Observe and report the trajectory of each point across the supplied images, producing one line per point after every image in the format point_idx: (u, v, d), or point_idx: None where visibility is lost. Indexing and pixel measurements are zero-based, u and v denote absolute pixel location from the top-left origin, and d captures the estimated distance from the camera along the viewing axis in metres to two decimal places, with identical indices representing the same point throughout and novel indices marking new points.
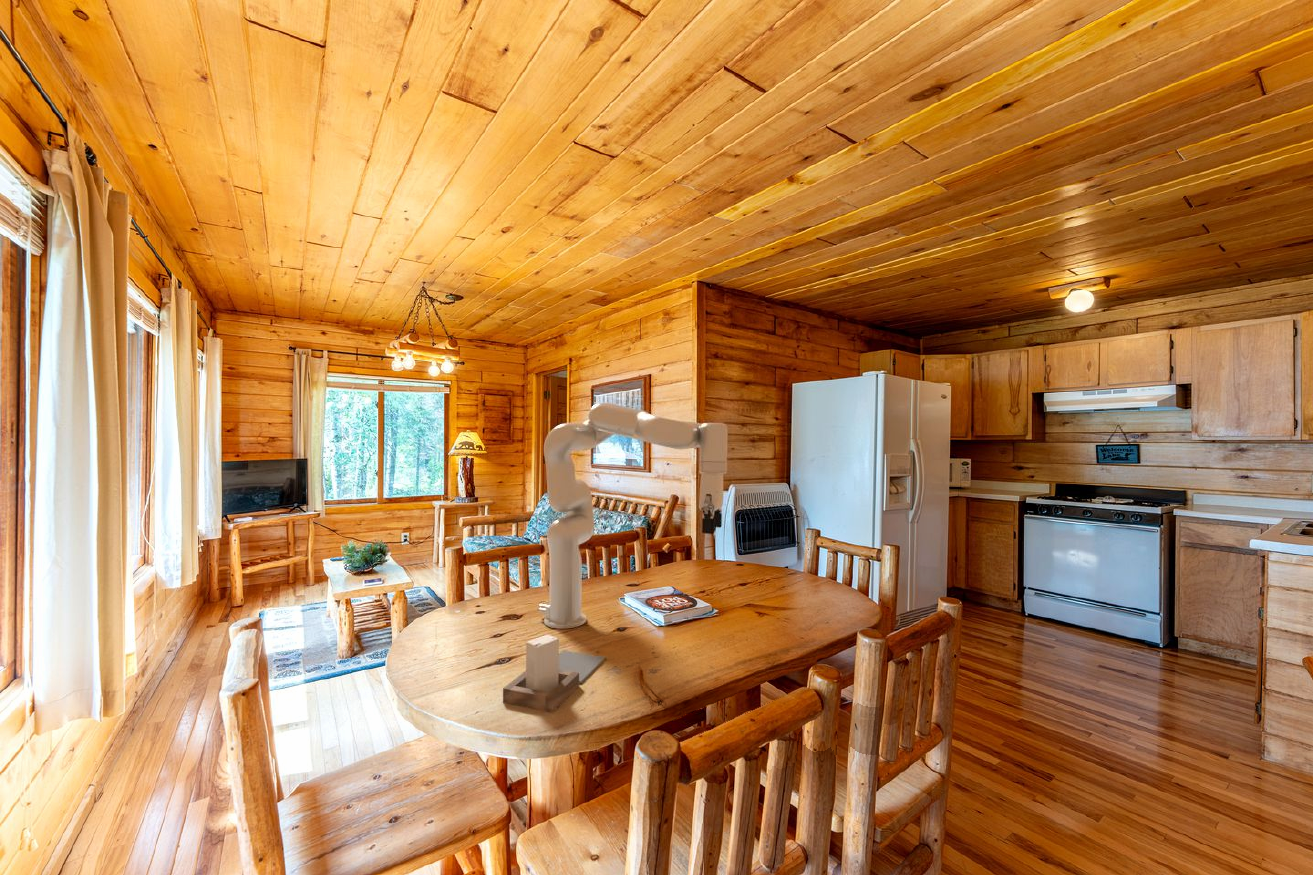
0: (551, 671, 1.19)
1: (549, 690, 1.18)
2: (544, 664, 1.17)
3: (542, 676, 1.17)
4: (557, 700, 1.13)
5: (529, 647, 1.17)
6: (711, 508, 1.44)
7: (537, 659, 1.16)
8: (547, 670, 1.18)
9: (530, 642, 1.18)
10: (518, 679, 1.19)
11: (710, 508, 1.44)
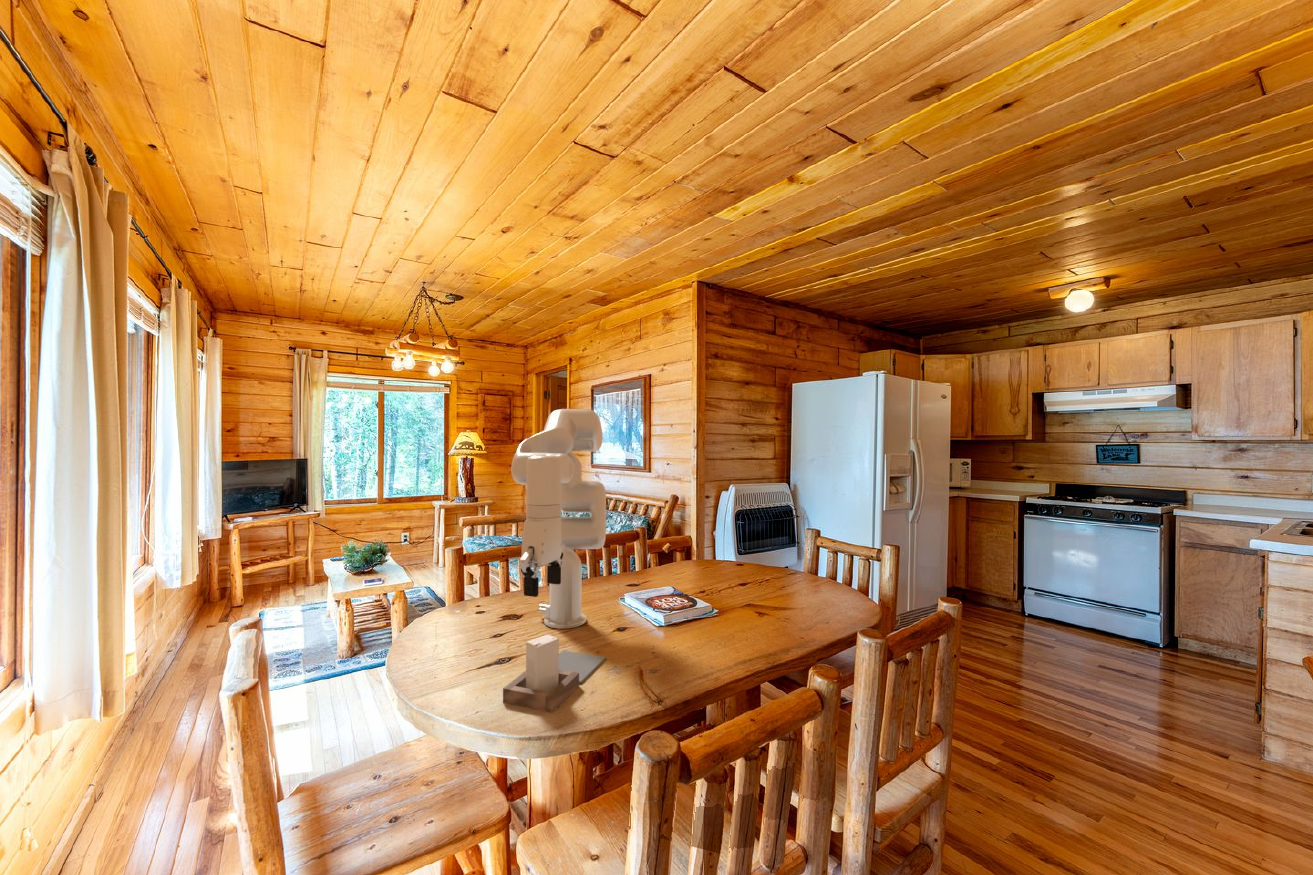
0: (551, 671, 1.19)
1: (549, 690, 1.18)
2: (544, 664, 1.17)
3: (542, 676, 1.17)
4: (557, 700, 1.13)
5: (529, 647, 1.17)
6: (535, 564, 1.14)
7: (537, 659, 1.16)
8: (547, 670, 1.18)
9: (530, 642, 1.18)
10: (518, 679, 1.19)
11: (534, 564, 1.14)
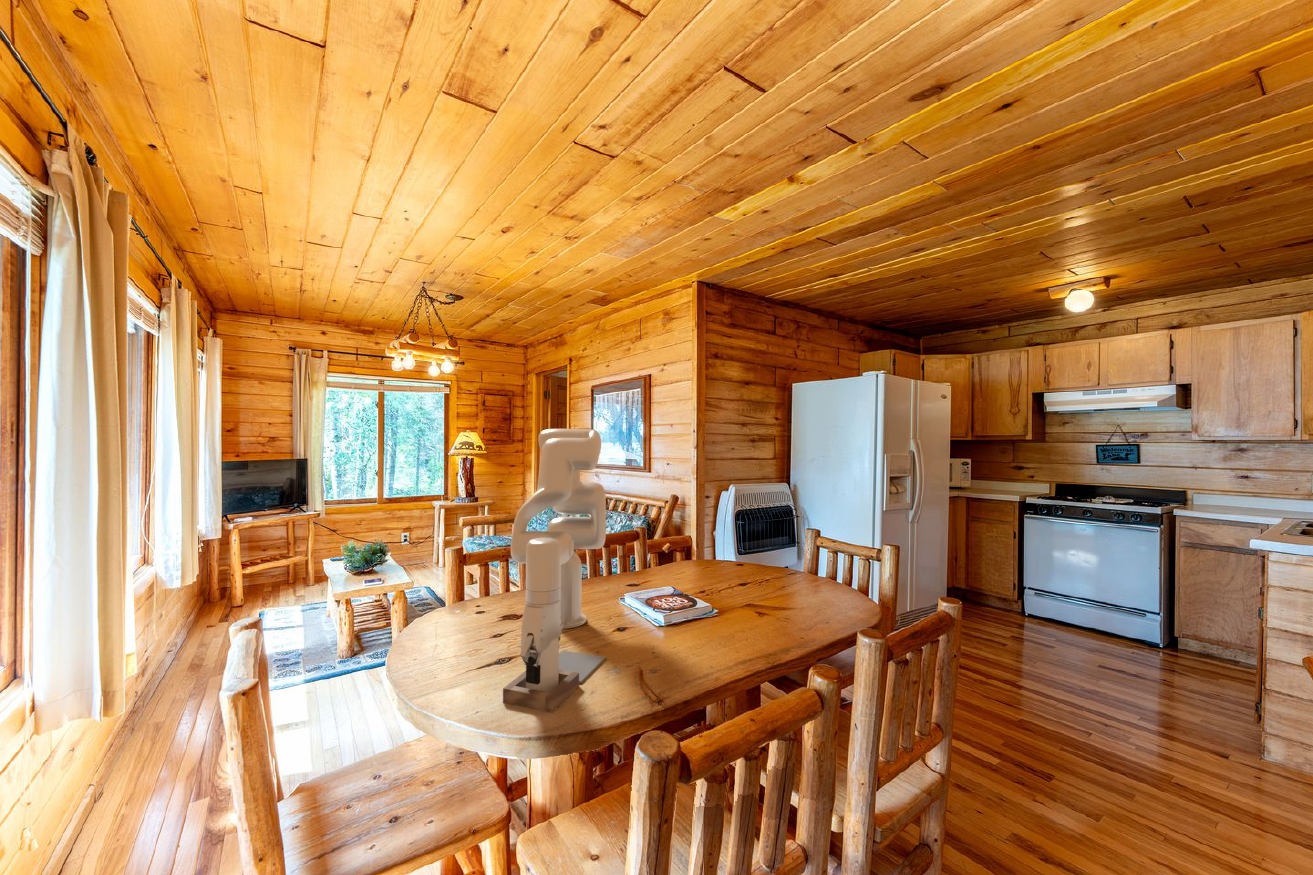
0: (551, 671, 1.19)
1: (549, 690, 1.18)
2: (544, 664, 1.17)
3: (542, 676, 1.17)
4: (557, 700, 1.13)
5: None
6: (535, 652, 1.15)
7: None
8: (547, 670, 1.18)
9: None
10: (518, 679, 1.19)
11: (534, 652, 1.15)
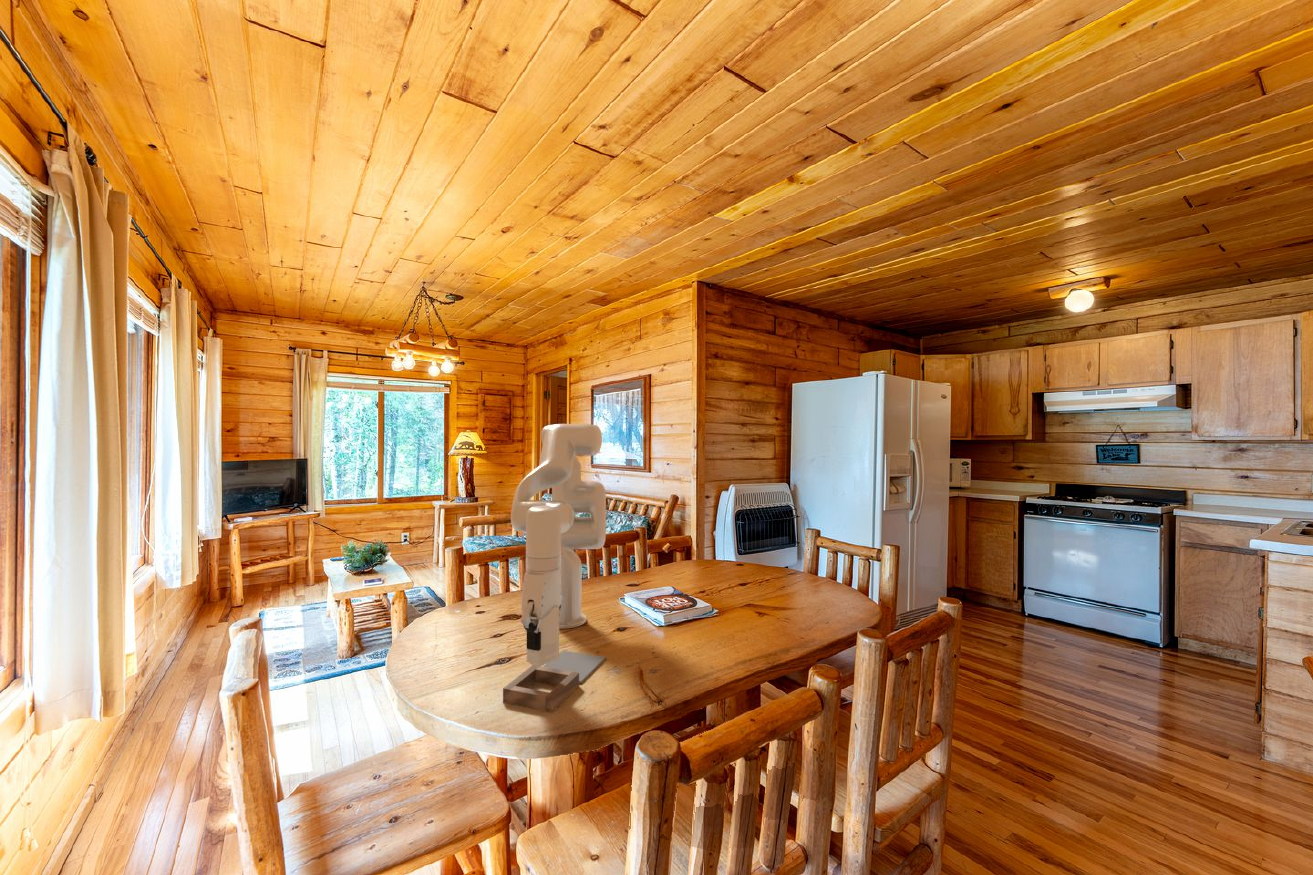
0: (552, 639, 1.19)
1: (550, 657, 1.19)
2: (545, 631, 1.17)
3: (543, 643, 1.17)
4: (557, 700, 1.13)
5: None
6: (536, 618, 1.15)
7: None
8: (548, 637, 1.18)
9: None
10: (518, 679, 1.19)
11: (535, 618, 1.15)
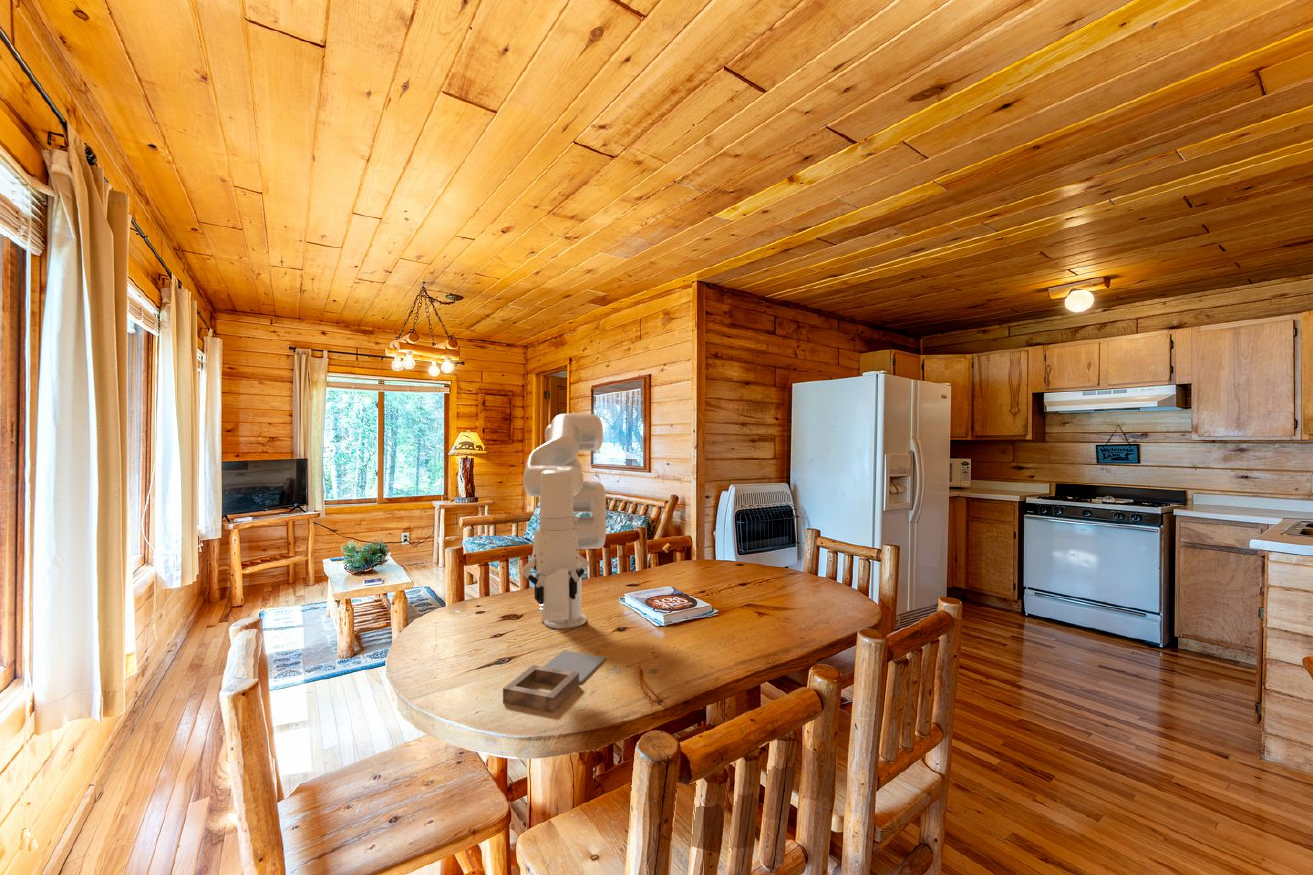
0: (559, 598, 1.23)
1: (557, 615, 1.23)
2: (550, 588, 1.22)
3: (548, 599, 1.23)
4: (557, 700, 1.13)
5: None
6: None
7: None
8: (554, 595, 1.23)
9: None
10: (518, 679, 1.19)
11: None
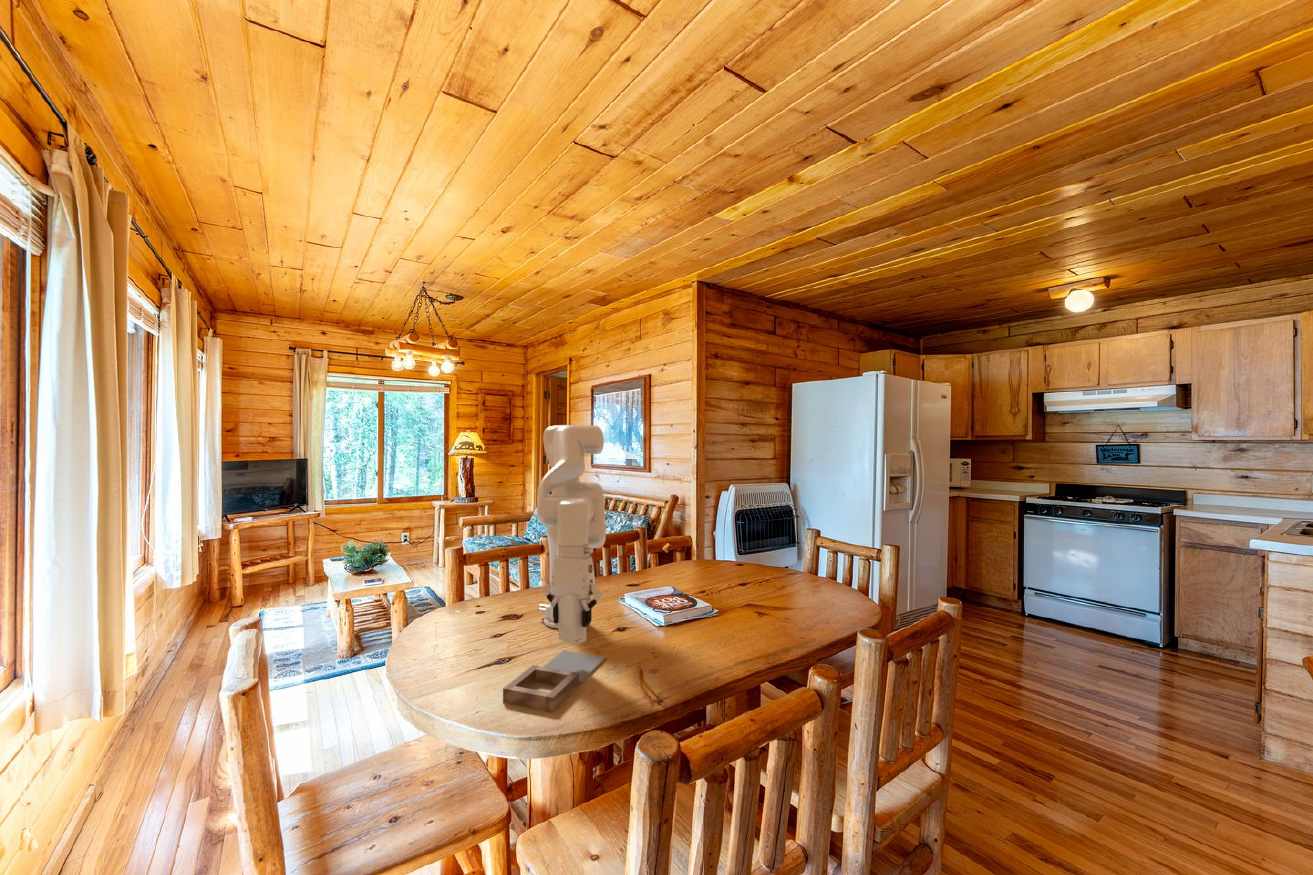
0: (567, 622, 1.30)
1: (566, 637, 1.30)
2: (562, 610, 1.31)
3: (561, 620, 1.32)
4: (557, 700, 1.13)
5: None
6: None
7: (558, 602, 1.33)
8: (564, 618, 1.31)
9: None
10: (518, 679, 1.19)
11: None
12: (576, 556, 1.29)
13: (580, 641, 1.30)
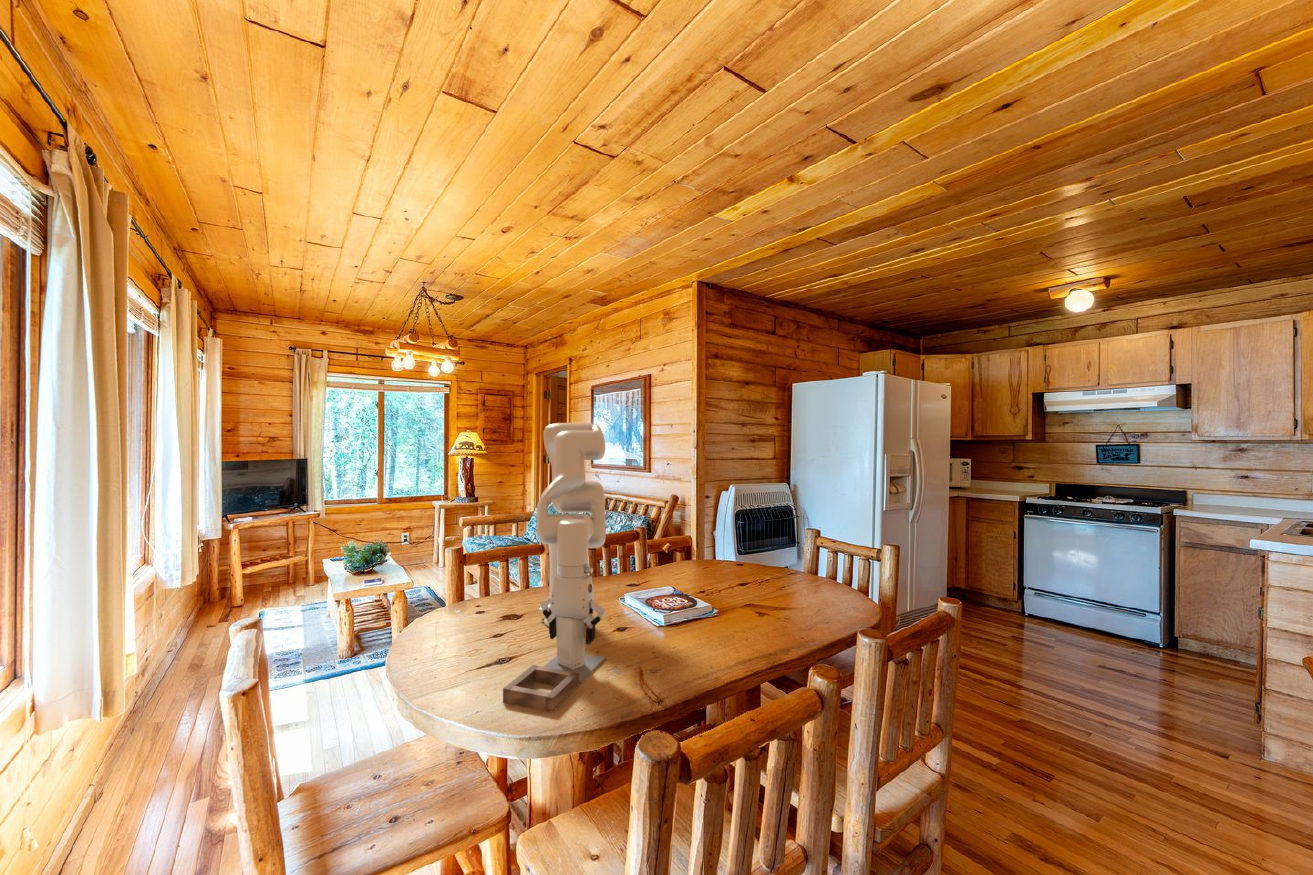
0: (566, 646, 1.31)
1: (565, 662, 1.31)
2: (560, 635, 1.32)
3: (559, 645, 1.32)
4: (557, 700, 1.13)
5: None
6: None
7: (556, 626, 1.33)
8: (563, 642, 1.31)
9: None
10: (518, 679, 1.19)
11: None
12: (576, 576, 1.29)
13: (579, 665, 1.31)
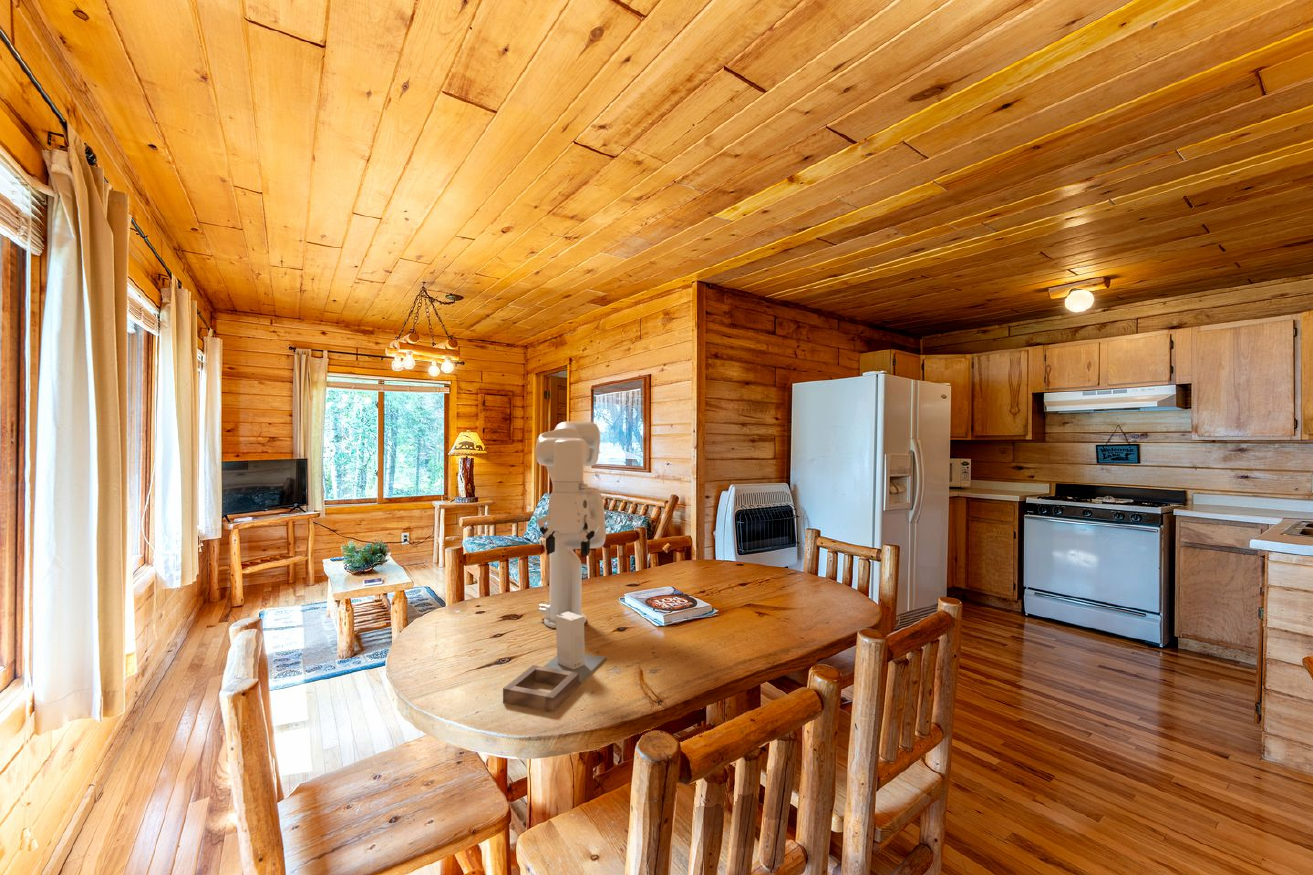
0: (566, 646, 1.31)
1: (565, 662, 1.31)
2: (560, 635, 1.32)
3: (559, 645, 1.32)
4: (557, 700, 1.13)
5: None
6: None
7: (556, 626, 1.33)
8: (563, 642, 1.31)
9: (566, 612, 1.35)
10: (518, 679, 1.19)
11: None
12: (571, 491, 1.34)
13: (579, 665, 1.31)
